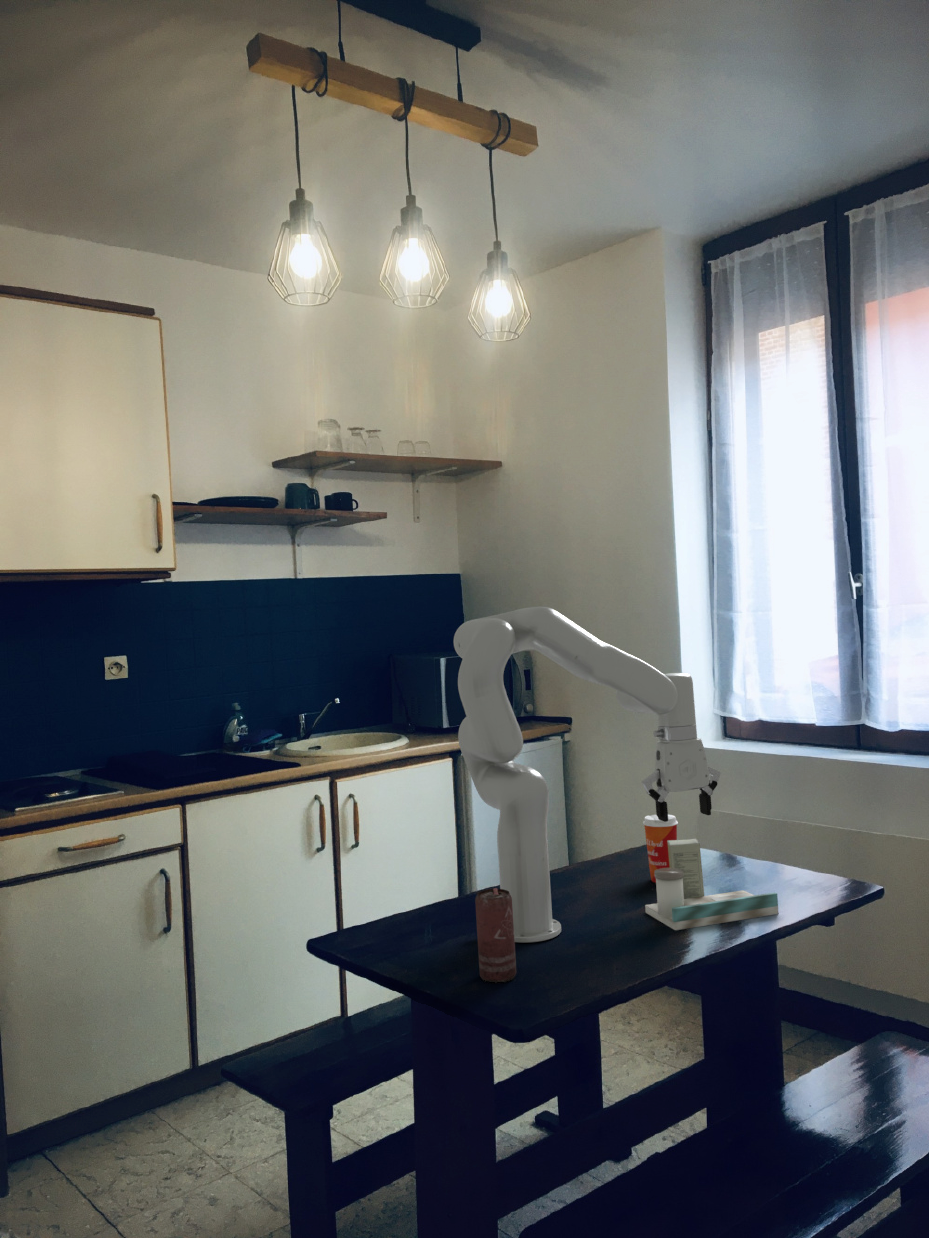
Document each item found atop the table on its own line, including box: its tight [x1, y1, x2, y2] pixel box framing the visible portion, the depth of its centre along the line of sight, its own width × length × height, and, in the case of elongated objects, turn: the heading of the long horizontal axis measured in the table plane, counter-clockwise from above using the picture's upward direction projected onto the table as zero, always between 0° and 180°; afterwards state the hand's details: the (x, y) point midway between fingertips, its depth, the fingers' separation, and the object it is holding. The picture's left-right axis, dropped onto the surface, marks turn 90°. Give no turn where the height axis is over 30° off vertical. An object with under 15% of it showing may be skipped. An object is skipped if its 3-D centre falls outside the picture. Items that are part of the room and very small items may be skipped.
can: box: [474, 887, 517, 984], centre depth 156 cm, size 6×6×14 cm
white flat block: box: [644, 890, 779, 931], centre depth 182 cm, size 22×12×4 cm, turn 106°
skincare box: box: [667, 838, 705, 899], centre depth 191 cm, size 6×4×12 cm
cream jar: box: [654, 868, 684, 917], centre depth 179 cm, size 5×5×8 cm
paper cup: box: [642, 813, 679, 884], centre depth 207 cm, size 8×8×14 cm
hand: (684, 817), depth 191 cm, fingers open, 9 cm apart
